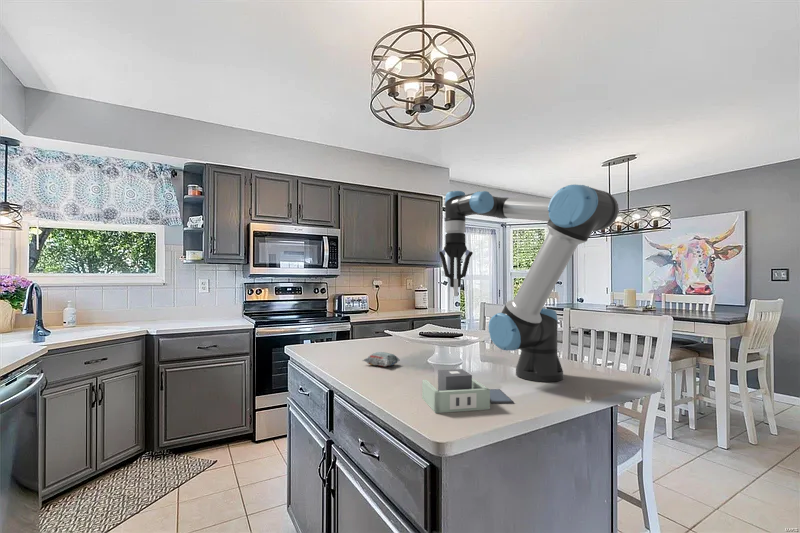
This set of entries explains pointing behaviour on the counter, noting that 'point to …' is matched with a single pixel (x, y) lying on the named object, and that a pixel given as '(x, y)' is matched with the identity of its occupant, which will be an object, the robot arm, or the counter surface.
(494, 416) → the counter surface
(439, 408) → the outlet bay
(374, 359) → the packaged food
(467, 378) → the block
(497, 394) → the phone
